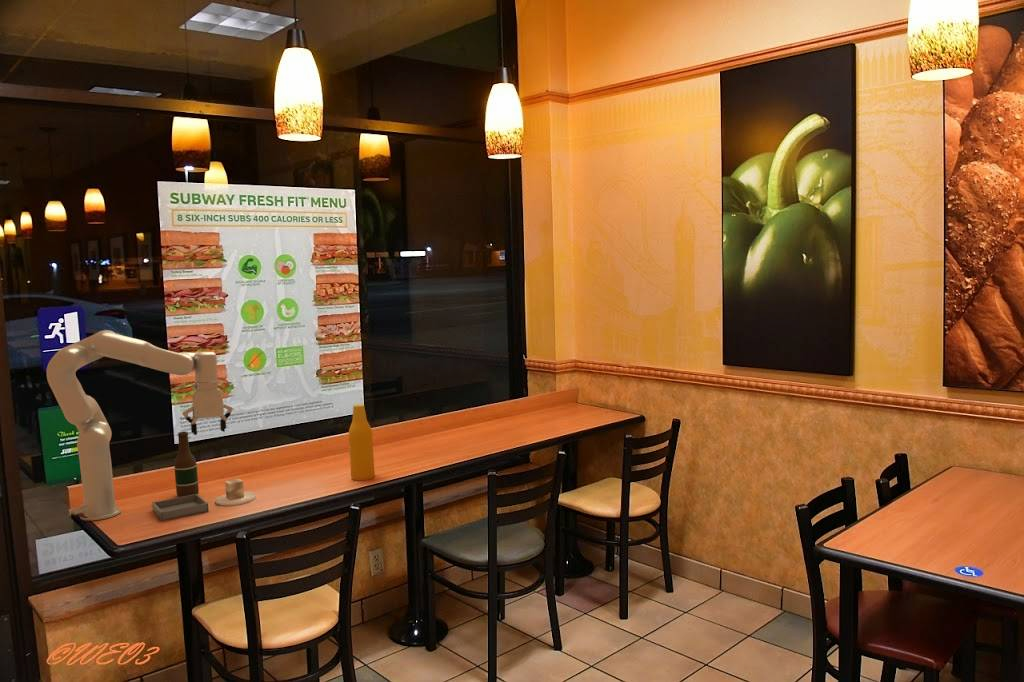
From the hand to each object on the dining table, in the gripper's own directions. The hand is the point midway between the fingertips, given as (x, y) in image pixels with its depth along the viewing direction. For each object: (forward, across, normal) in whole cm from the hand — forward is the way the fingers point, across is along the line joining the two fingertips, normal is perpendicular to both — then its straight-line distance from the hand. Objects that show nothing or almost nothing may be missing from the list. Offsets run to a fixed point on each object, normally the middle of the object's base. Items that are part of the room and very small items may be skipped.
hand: (209, 432), depth 281 cm
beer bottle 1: (+25, -6, +14) cm, 29 cm away
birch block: (+24, +7, -6) cm, 25 cm away
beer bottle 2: (+24, +55, -10) cm, 61 cm away
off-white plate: (+25, +7, -6) cm, 26 cm away
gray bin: (+25, -12, -7) cm, 29 cm away
